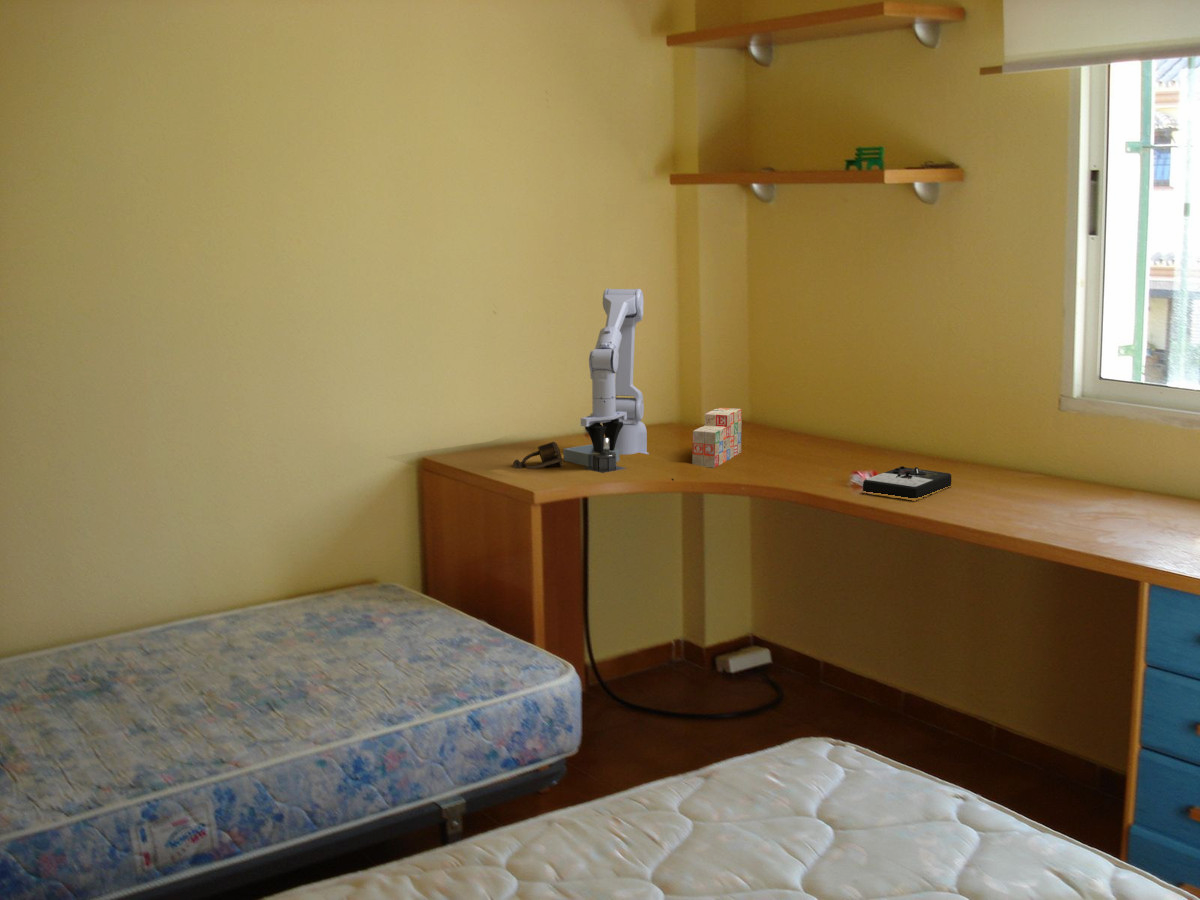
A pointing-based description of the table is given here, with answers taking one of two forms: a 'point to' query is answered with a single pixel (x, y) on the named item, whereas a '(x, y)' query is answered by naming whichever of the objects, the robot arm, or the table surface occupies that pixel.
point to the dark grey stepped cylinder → (604, 457)
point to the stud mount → (604, 470)
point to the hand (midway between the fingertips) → (604, 451)
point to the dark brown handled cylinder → (543, 457)
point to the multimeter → (907, 482)
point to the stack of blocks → (717, 437)
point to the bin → (583, 454)
